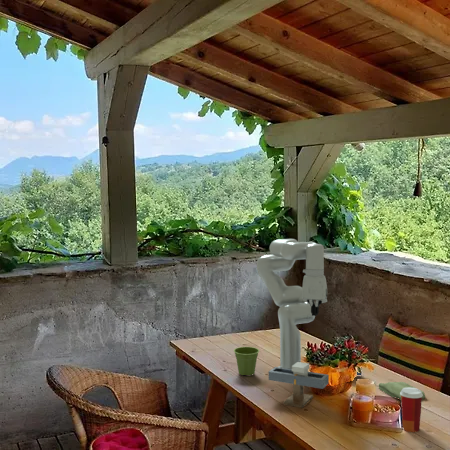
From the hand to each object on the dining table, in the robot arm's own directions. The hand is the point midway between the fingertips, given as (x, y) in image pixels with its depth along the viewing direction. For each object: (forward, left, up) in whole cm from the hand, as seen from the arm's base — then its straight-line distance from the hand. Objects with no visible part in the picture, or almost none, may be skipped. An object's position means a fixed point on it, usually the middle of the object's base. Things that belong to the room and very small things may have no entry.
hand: (314, 315), depth 248 cm
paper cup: (+51, +13, -31) cm, 61 cm away
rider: (+15, -13, -21) cm, 29 cm away
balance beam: (+14, -14, -31) cm, 37 cm away
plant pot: (-24, -23, -31) cm, 46 cm away
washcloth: (+19, +30, -32) cm, 48 cm away
